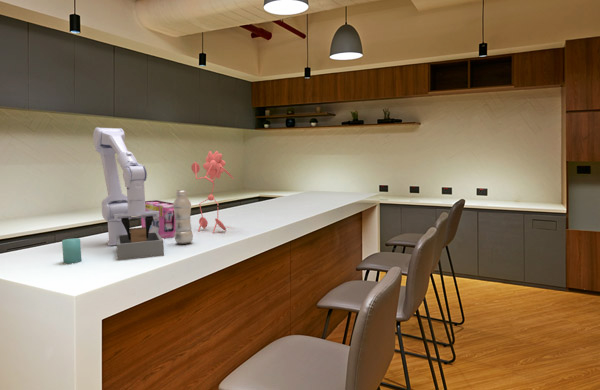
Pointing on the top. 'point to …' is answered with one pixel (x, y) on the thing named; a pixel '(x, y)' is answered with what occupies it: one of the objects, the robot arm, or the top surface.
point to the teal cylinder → (71, 250)
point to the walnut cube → (138, 234)
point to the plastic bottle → (182, 218)
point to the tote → (139, 247)
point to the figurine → (214, 170)
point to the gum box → (161, 218)
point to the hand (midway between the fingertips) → (138, 238)
